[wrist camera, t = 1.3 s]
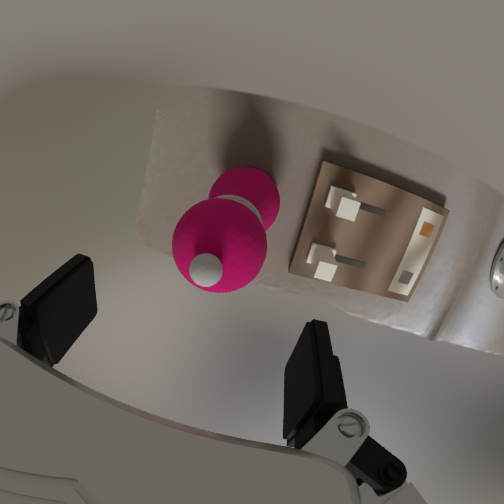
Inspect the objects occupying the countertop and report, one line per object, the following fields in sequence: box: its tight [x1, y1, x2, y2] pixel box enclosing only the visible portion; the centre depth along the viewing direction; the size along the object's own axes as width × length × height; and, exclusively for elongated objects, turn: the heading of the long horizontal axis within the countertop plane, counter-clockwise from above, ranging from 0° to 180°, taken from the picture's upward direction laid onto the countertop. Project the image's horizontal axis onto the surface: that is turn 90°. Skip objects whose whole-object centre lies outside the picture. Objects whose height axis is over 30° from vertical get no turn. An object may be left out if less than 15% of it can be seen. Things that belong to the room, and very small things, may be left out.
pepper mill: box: [172, 167, 280, 293], centre depth 23 cm, size 7×7×20 cm
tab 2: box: [324, 185, 361, 222], centre depth 27 cm, size 3×2×4 cm
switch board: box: [289, 160, 449, 302], centre depth 31 cm, size 18×14×2 cm
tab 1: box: [306, 242, 337, 282], centre depth 30 cm, size 3×2×4 cm
